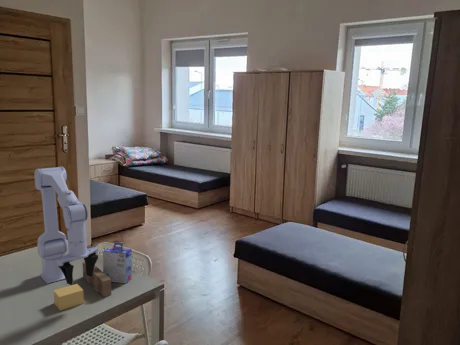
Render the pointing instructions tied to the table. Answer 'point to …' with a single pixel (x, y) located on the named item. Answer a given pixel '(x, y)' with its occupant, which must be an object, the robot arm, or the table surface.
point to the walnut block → (98, 281)
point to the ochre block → (68, 296)
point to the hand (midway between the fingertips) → (79, 279)
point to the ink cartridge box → (118, 263)
